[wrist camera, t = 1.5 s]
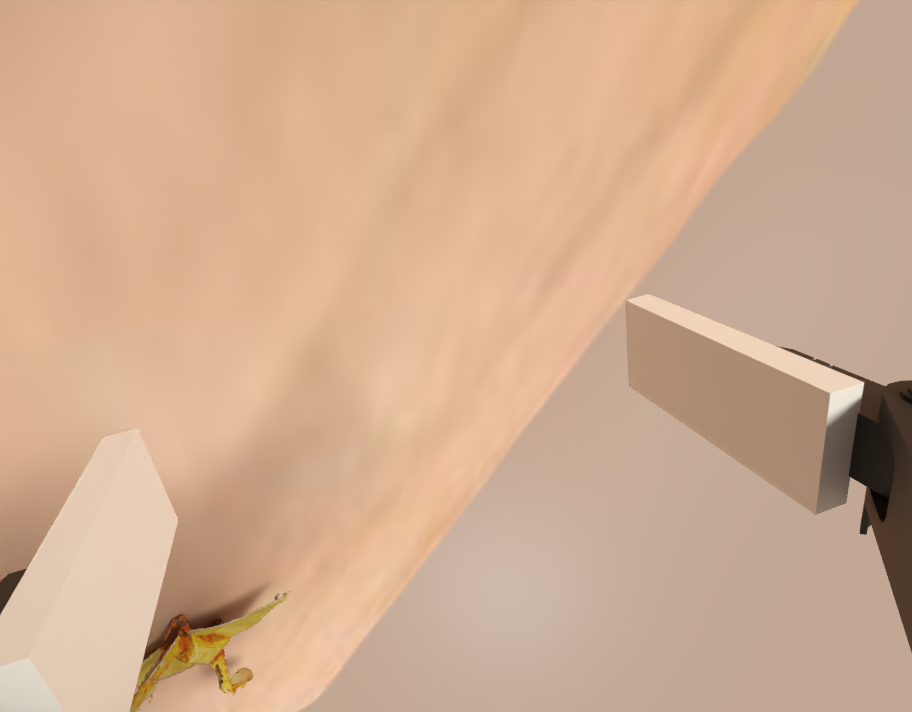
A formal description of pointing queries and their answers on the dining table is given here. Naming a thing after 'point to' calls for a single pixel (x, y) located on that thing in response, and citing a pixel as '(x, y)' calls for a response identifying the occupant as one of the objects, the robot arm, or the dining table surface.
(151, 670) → the origami crane
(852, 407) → the robot arm
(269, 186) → the dining table surface
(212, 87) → the dining table surface
